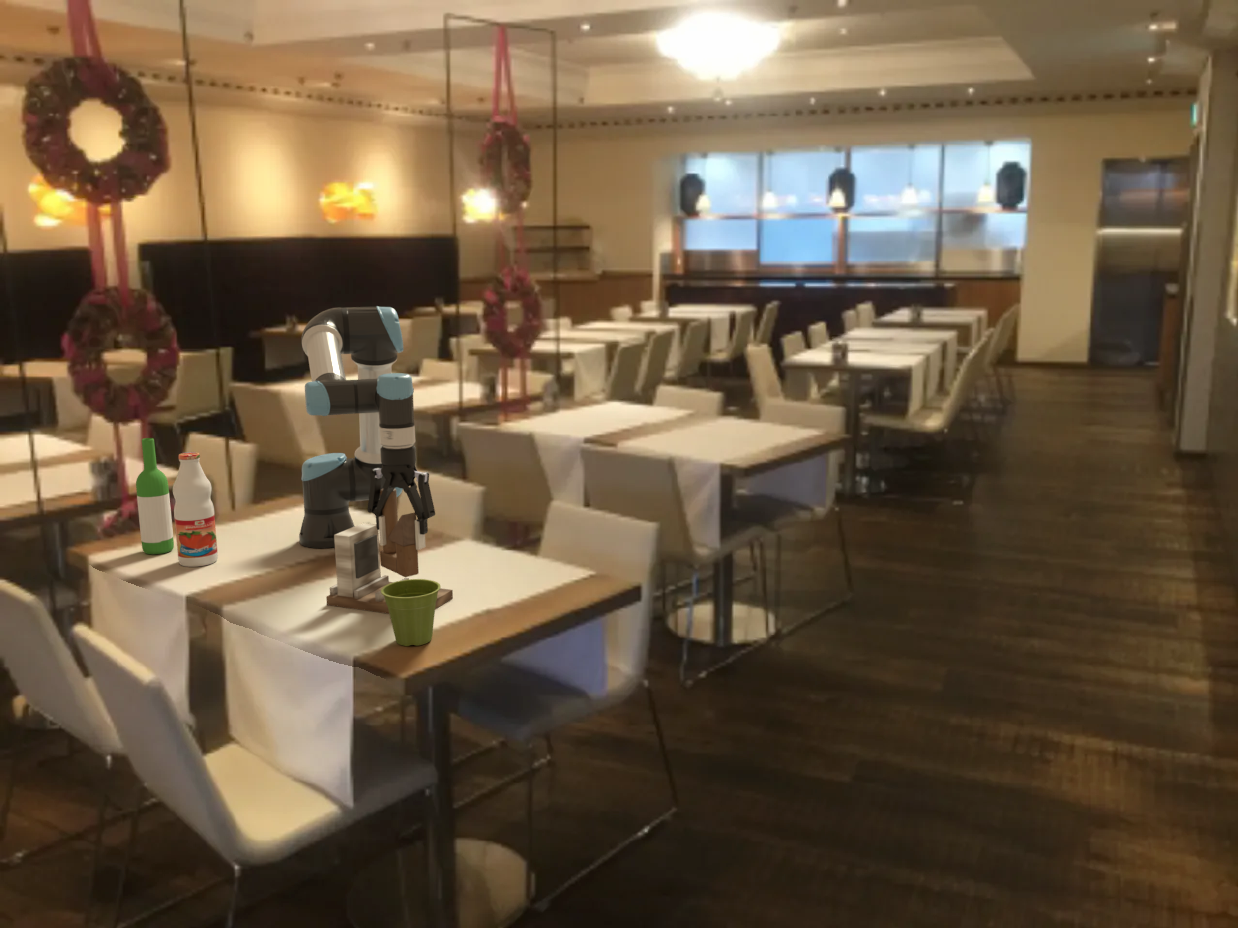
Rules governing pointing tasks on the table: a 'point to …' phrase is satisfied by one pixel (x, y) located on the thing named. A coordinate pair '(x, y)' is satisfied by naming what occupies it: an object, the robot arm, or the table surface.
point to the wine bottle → (154, 504)
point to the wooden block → (399, 540)
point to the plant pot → (412, 609)
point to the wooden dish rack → (363, 572)
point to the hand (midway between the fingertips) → (402, 545)
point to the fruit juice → (194, 514)
